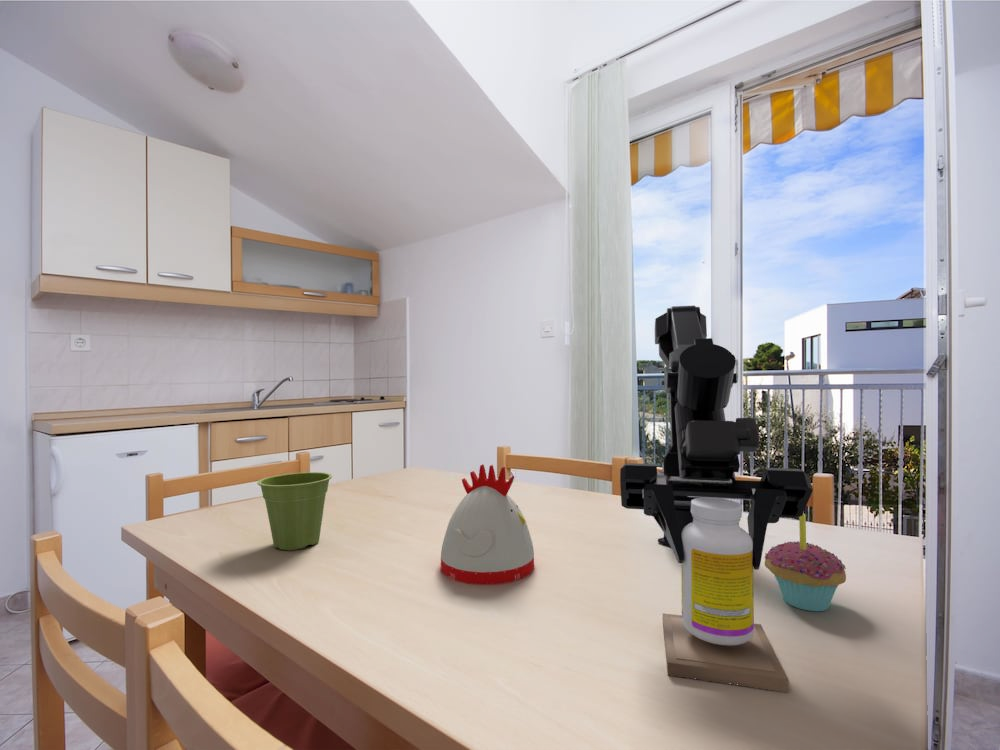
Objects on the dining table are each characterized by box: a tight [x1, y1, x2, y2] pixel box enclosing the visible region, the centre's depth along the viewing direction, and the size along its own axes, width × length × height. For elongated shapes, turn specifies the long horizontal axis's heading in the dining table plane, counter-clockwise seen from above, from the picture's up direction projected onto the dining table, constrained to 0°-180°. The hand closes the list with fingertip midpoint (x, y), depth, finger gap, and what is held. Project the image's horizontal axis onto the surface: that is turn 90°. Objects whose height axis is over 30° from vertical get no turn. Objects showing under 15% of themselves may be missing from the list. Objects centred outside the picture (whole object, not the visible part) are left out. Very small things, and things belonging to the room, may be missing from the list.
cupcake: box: [764, 513, 847, 612], centre depth 61 cm, size 9×8×12 cm
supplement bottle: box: [680, 498, 755, 645], centre depth 50 cm, size 7×7×13 cm
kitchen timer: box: [440, 464, 535, 586], centre depth 74 cm, size 14×14×15 cm
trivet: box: [662, 613, 789, 693], centre depth 49 cm, size 10×10×1 cm
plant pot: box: [256, 471, 333, 551], centre depth 85 cm, size 12×12×11 cm
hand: (717, 564), depth 48 cm, fingers closed on supplement bottle, 6 cm apart
